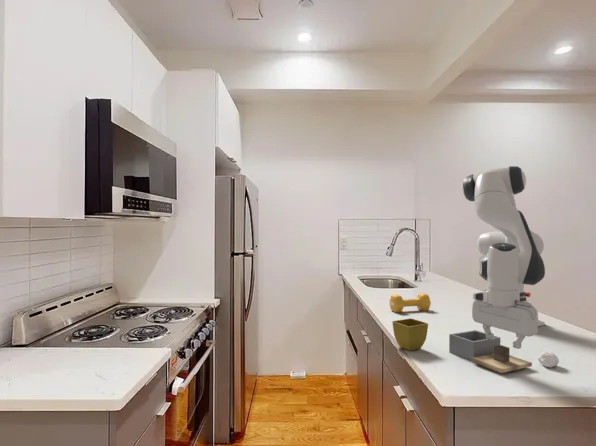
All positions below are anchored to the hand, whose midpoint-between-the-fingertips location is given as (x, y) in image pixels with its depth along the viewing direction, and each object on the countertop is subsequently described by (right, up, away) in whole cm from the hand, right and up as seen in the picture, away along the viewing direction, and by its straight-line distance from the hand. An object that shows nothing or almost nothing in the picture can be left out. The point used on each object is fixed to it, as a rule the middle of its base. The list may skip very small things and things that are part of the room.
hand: (503, 343), depth 127 cm
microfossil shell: (+14, -7, +1) cm, 16 cm away
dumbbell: (-8, -7, +76) cm, 77 cm away
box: (-4, -7, +12) cm, 14 cm away
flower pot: (-23, -7, +18) cm, 30 cm away
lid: (-1, -7, 0) cm, 7 cm away
